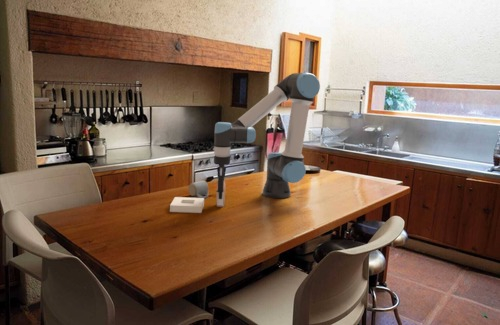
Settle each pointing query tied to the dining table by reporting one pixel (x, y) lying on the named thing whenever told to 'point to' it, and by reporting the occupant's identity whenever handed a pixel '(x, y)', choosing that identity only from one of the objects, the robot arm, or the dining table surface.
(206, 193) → the ceramic mug
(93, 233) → the dining table surface
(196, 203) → the socket block
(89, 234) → the dining table surface
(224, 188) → the peg
